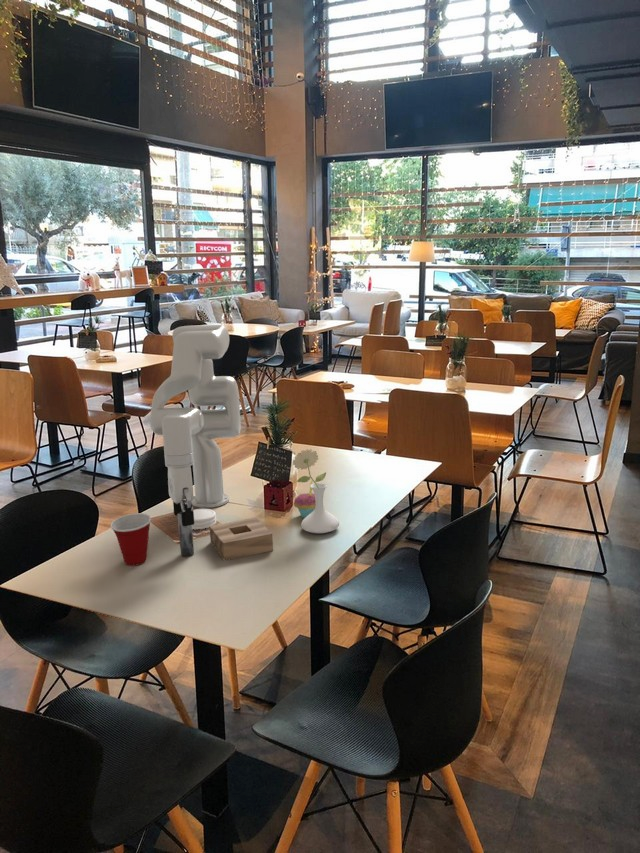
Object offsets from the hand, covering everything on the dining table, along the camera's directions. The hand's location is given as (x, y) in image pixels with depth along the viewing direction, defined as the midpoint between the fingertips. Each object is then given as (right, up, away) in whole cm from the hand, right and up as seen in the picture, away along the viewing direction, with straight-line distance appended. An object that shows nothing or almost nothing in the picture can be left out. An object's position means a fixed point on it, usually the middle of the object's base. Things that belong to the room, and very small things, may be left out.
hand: (184, 519), depth 191 cm
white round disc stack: (0, -5, +25) cm, 26 cm away
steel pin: (0, -10, +3) cm, 10 cm away
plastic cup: (-13, -12, -1) cm, 18 cm away
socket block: (+15, -8, +7) cm, 18 cm away
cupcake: (+33, -3, +29) cm, 44 cm away
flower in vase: (+36, -5, +17) cm, 41 cm away
